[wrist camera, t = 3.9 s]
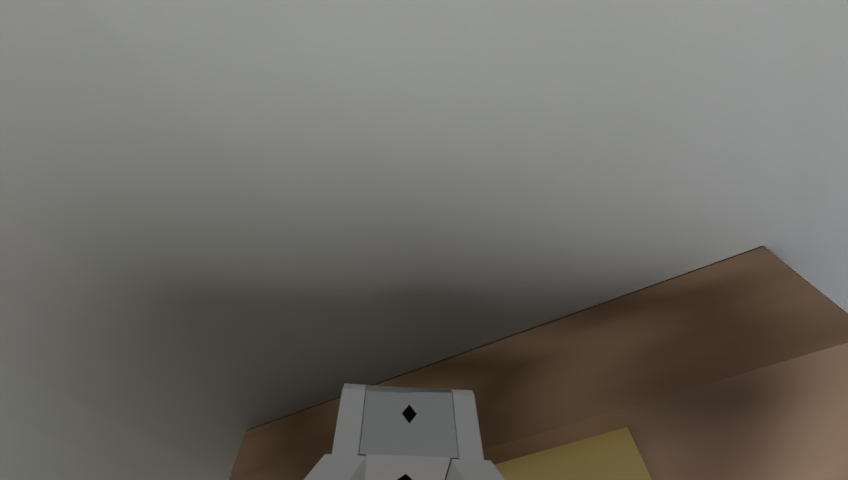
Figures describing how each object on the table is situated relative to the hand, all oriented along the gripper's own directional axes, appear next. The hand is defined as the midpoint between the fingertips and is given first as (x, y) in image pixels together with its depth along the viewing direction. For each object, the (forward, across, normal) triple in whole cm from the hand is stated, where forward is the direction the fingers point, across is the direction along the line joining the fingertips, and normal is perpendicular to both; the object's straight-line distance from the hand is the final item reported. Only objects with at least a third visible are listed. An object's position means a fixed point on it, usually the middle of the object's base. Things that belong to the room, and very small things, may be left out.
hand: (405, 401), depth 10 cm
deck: (+5, -7, +10) cm, 13 cm away
